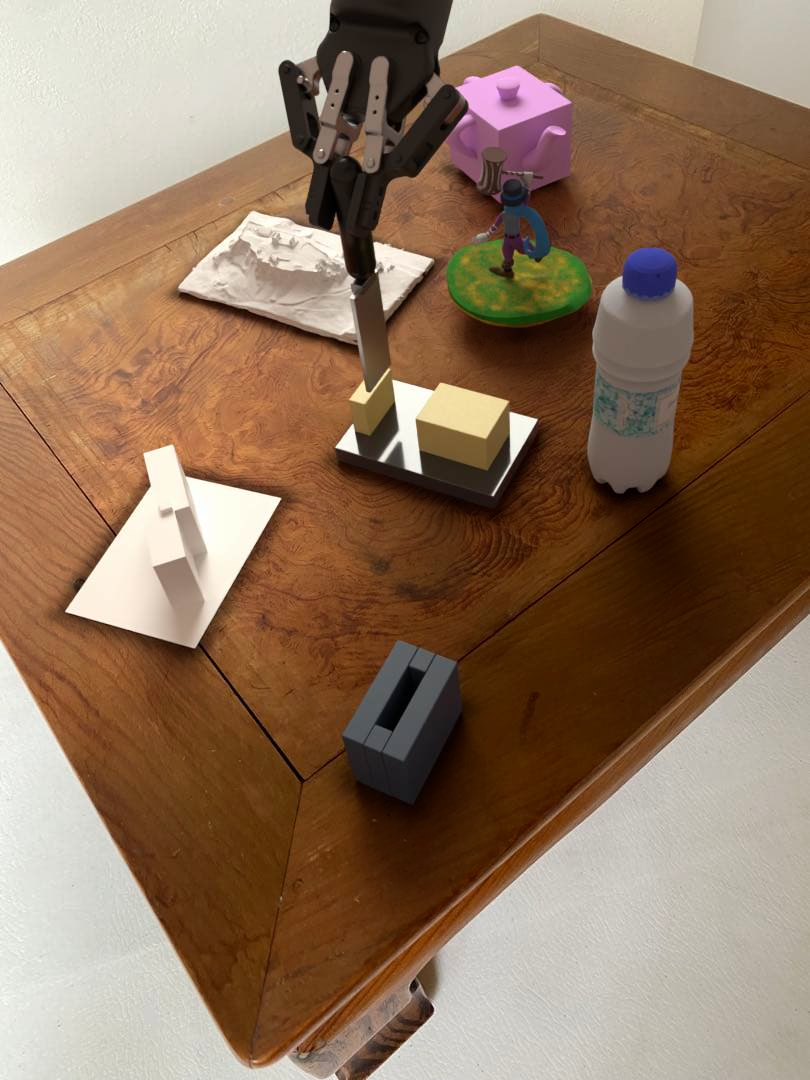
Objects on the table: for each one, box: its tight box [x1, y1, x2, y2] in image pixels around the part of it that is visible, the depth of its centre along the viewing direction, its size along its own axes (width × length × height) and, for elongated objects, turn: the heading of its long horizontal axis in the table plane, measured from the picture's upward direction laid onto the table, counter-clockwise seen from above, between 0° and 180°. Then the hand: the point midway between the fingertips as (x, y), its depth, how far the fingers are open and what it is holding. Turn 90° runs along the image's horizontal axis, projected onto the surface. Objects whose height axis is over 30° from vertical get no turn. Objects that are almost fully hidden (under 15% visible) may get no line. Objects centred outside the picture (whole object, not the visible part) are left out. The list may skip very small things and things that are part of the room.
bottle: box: [587, 247, 695, 495], centre depth 70 cm, size 7×7×20 cm
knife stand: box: [341, 639, 463, 805], centre depth 62 cm, size 4×7×6 cm, turn 153°
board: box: [334, 378, 539, 510], centre depth 81 cm, size 14×9×2 cm, turn 63°
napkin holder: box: [64, 444, 282, 649], centre depth 74 cm, size 15×11×6 cm
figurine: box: [445, 147, 593, 328], centre depth 86 cm, size 14×13×15 cm
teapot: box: [444, 65, 574, 204], centre depth 101 cm, size 18×14×10 cm
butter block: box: [415, 382, 511, 470], centre depth 78 cm, size 6×4×4 cm
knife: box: [330, 155, 392, 393], centre depth 71 cm, size 2×4×19 cm, turn 153°
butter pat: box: [348, 367, 395, 436], centre depth 81 cm, size 2×4×4 cm, turn 153°
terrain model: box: [177, 209, 435, 346], centre depth 96 cm, size 17×23×5 cm
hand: (338, 230), depth 66 cm, fingers closed on knife, 2 cm apart
